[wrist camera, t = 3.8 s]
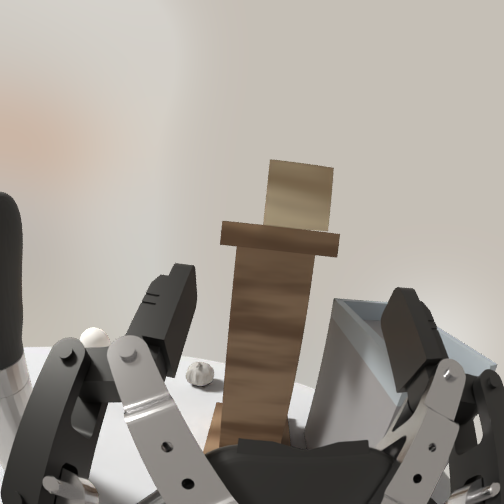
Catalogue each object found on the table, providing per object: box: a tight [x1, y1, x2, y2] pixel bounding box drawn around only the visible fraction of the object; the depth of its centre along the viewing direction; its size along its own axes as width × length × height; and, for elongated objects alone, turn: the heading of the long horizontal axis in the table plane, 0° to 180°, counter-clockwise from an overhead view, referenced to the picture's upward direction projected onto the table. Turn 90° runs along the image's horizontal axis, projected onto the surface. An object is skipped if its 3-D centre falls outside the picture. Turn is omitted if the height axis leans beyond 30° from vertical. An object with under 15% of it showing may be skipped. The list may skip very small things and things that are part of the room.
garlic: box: [186, 362, 214, 386], centre depth 52 cm, size 6×5×5 cm
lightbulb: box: [80, 327, 110, 348], centre depth 45 cm, size 6×6×11 cm
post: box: [203, 221, 340, 454], centre depth 33 cm, size 18×12×32 cm, turn 178°
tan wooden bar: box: [263, 160, 334, 231], centre depth 27 cm, size 26×3×3 cm, turn 178°
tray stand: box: [304, 298, 497, 469], centre depth 27 cm, size 22×10×24 cm, turn 178°
